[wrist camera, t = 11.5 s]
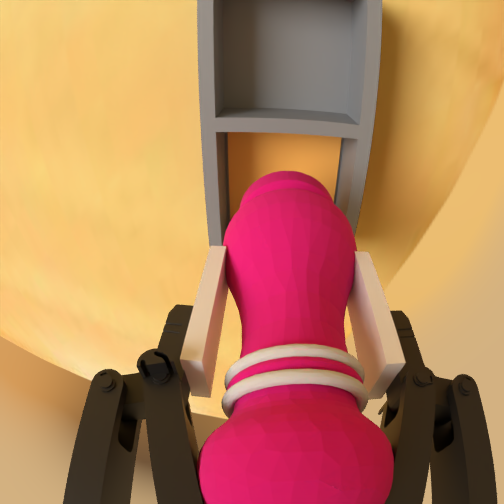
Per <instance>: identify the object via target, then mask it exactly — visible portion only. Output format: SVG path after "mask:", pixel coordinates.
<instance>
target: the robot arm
mask: <svg viewBox="0 0 504 504" xmlns="http://www.w3.org/2000/svg"><path fill="white" fill-rule="evenodd" d="M354 252H355V270H354V280H353V285H352V288H351V291H350V294H349V297H348V302H347V307H348V311H349V316H350V321H351V326H352V331H353V335H354V341H355V346H356V351H357V357H358V361H359V362H360V363H361V365H362V367H363V369H364V372H365V379H364V383H363V385H364V386H365V388H366V389H367V391H368V400H369V399H380V398H382V397H383V395H384V394H385V393H386V394H387V401H386V403H385V404H384V405H383V406H382V408H381V409H380V410H379V413H378V414H379V415H380V414H381V413H382V412H383V416H382V421H381V426H380V429H381V430H382V431H383V432H384V433H385V435H386V436H387V438H388V440H389V442H390V443H391V448H392V452H393V457H394V469H393V481H392V486H391V490H390V493H389V496H388V498H387V500H386V501H385V504H422V502H423V497H424V493H425V487H426V482H427V476H428V470H429V463H430V470H431V486H432V504H497V492H496V482H495V472H494V464H493V457H492V451H491V445H490V439H489V434H488V429H487V424H486V420H485V415H484V411H483V406H482V402H481V398H480V395H479V391H478V387H477V384H476V382H475V381H474V379H473V378H472V377H470V376H468V375H465V374H461V375H458V376H457V377H456V378H455V379H454V380H449V379H444V378H439V377H436V376H435V375H434V374H433V372H432V371H431V370H429V368H427V367H425V365H424V363H423V360H422V356H421V353H420V350H419V347H418V344H417V341H416V338H415V337H414V336H415V335H414V333H413V330H412V327H411V324H410V321H409V319H408V318H407V317H406V315H405V314H404V313H403V312H402V311H390V310H389V307H388V304H387V301H386V298H385V295H384V292H383V289H382V286H381V284H380V281H379V278H378V275H377V273H376V270H375V267H374V265H373V262H372V259H371V257H370V254H369V252H359V251H354ZM228 288H229V287H228V285H227V281H226V246H210V249H209V253H208V256H207V260H206V263H205V267H204V270H203V274H202V277H201V281H200V284H199V288H198V292H197V295H196V299H195V303H194V306H189V305H176V306H175V307H174V308H173V309H172V310H171V311H170V312H169V314H168V317H167V320H166V324H165V326H164V329H163V333H162V336H161V339H160V342H159V345H158V348H157V349H151V350H148V351H146V352H144V353H143V354H142V355H141V356H140V357H139V359H138V361H137V368H138V370H139V373H135V374H128V375H121V374H120V373H118V372H117V371H115V370H112V369H105V370H102V371H100V372H98V373H97V374H96V375H95V376H94V378H93V380H92V382H91V386H90V389H89V392H88V396H87V399H86V403H85V406H84V410H83V414H82V417H81V421H80V425H79V429H78V433H77V437H76V441H75V445H74V450H73V454H72V459H71V463H70V468H69V473H68V478H67V483H66V489H65V495H64V501H63V504H130V498H131V490H132V482H133V474H134V467H135V460H136V453H137V447H138V440H139V434H140V428H141V422H142V419H146V425H147V434H148V442H149V451H150V458H151V466H152V471H153V479H154V485H155V490H156V496H157V502H158V504H204V502H203V499H202V495H201V492H200V487H199V482H198V476H197V461H198V457H199V451H198V446H197V442H196V436H195V431H194V426H193V421H192V415H191V410H190V404H189V402H188V398H189V393H190V392H191V395H192V396H199V397H208V398H210V397H211V390H212V384H213V378H214V372H215V365H216V359H217V353H218V347H219V341H220V335H221V329H222V323H223V317H224V311H225V306H226V300H227V294H228Z"/></svg>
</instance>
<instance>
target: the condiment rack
mask: <svg viewBox="0 0 504 504" xmlns="http://www.w3.org/2000/svg"><path fill="white" fill-rule="evenodd" d="M197 27H198V72H199V100H200V121H201V140H202V156H203V172H204V186H205V199H206V212H207V224H208V235H209V246H223V242H224V236H225V232H226V229H227V227H228V225H229V223H230V221H231V219H232V218H233V216H234V215H235V214H236V213H237V211H238V210H239V208H240V203H241V200H242V198H243V196H244V194H245V192H246V191H247V190H248V188H249V187H250V186H251V185H252V184H253V183H254V182H255V181H257V180H258V179H259V178H261V177H263V176H265V175H267V174H270V173H273V172H278V171H297V172H302V173H304V174H307V175H309V176H312V177H313V178H315V179H317V180H318V181H319V182H321V183H322V185H323V186H324V187H325V188H326V189H327V191H328V192H329V194H330V195H331V197H332V200H333V203H334V204H335V205H336V206H337V207H338V208H339V209H340V210H341V211H342V212H343V214H344V215H345V216H346V218H347V219H348V221H349V223H350V225H351V227H352V231H353V234H354V237H355V232H356V228H357V223H358V218H359V213H360V208H361V203H362V197H363V192H364V186H365V181H366V175H367V169H368V162H369V156H370V149H371V142H372V135H373V128H374V120H375V111H376V102H377V92H378V81H379V69H380V54H381V34H382V0H197Z"/></svg>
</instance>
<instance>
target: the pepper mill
mask: <svg viewBox="0 0 504 504" xmlns="http://www.w3.org/2000/svg"><path fill="white" fill-rule="evenodd" d="M223 246H226V281H227V285H228V287H229V289H230V291H231V293H232V295H233V297H234V299H235V302H236V305H237V307H238V310H239V314H240V319H241V324H242V350H241V355H240V359H239V360H238V361H236V362H235V363H234V364H233V365H232V366H231V367H230V369H229V370H228V371H227V373H226V376H225V388H226V390H227V391H226V393H225V394H224V396H223V399H222V409H223V411H224V413H225V415H226V416H227V417H228V418H229V419H228V420H227V421H226V422H225V423H224V424H223V425H221V426H220V427H219V428H217V429H216V430H215V431H214V432H213V433H212V434H211V435H210V436H209V437H208V438H207V440H206V441H205V443H204V445H203V447H202V448H201V450H200V452H199V457H198V461H197V476H198V482H199V487H200V492H201V495H202V499H203V502H204V504H385V501H386V500H387V498H388V496H389V493H390V490H391V486H392V481H393V469H394V457H393V452H392V448H391V443H390V442H389V440H388V438H387V436H386V435H385V433H384V432H383V431H382V430H381V429H380V428H379V427H378V426H377V425H375V424H374V423H373V422H372V421H370V420H369V419H368V418H366V417H365V416H364V415H363V414H362V411H363V410H364V409H365V407H366V405H367V403H368V391H367V389H366V388H365V386H364V385H363V383H364V379H365V372H364V369H363V367H362V365H361V363H360V362H359V361H358V360H357V359H356V358H355V357H354V356H352V355H350V354H349V353H348V351H347V348H346V344H345V332H344V317H345V310H346V306H347V302H348V297H349V294H350V291H351V288H352V285H353V280H354V270H355V252H354V251H357V248H356V243H355V238H354V234H353V231H352V227H351V225H350V223H349V221H348V219H347V218H346V216H345V215H344V214H343V212H342V211H341V210H340V209H339V208H338V207H337V206H336V205H335V204H334V203H333V200H332V197H331V195H330V194H329V192H328V191H327V189H326V188H325V187H324V186H323V185H322V183H321V182H319V181H318V180H317V179H315V178H313V177H312V176H309V175H307V174H304V173H302V172H297V171H278V172H273V173H270V174H267V175H265V176H263V177H261V178H259V179H258V180H257V181H255V182H254V183H253V184H252V185H251V186H250V187H249V188H248V190H247V191H246V192H245V194H244V196H243V198H242V200H241V203H240V208H239V210H238V211H237V213H236V214H235V215H234V216H233V218H232V219H231V221H230V223H229V225H228V227H227V229H226V232H225V236H224V242H223Z"/></svg>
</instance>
